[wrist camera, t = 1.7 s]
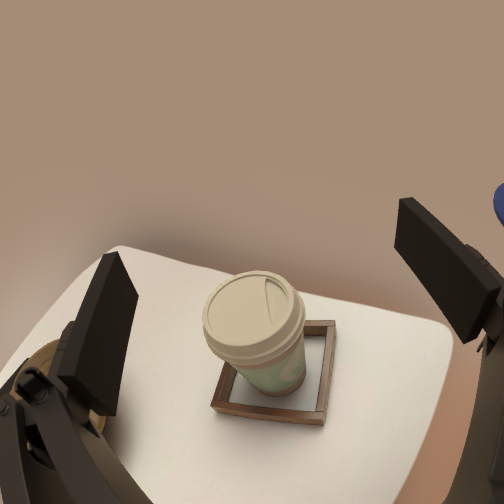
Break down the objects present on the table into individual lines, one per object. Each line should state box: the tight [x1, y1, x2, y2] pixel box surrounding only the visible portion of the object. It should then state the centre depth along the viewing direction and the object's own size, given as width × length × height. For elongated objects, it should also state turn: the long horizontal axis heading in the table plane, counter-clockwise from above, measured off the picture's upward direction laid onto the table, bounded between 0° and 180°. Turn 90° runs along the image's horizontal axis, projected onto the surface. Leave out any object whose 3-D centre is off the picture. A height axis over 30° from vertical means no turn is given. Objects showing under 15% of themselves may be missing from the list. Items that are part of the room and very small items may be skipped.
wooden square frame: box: [210, 320, 336, 425], centre depth 30 cm, size 11×11×2 cm
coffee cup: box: [203, 271, 306, 396], centre depth 27 cm, size 8×9×12 cm
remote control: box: [0, 358, 29, 397], centre depth 36 cm, size 5×2×15 cm
